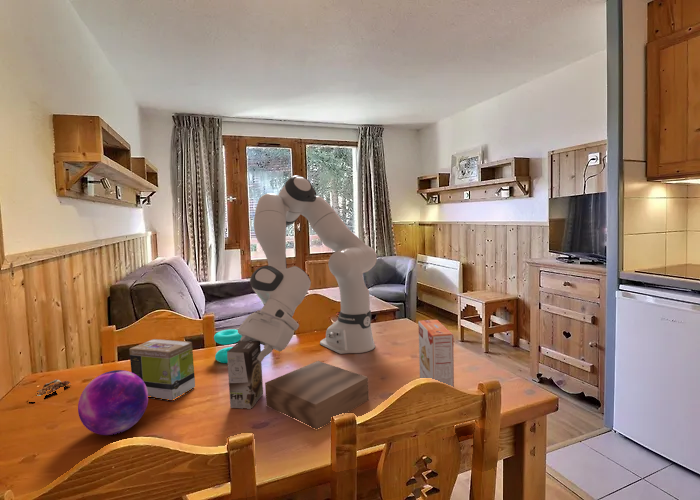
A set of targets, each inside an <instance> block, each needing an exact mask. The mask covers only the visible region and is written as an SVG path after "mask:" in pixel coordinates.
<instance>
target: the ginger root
mask: <svg viewBox="0 0 700 500" xmlns="http://www.w3.org/2000/svg"><path fill="white" fill-rule="evenodd" d="M69 383H70V384H71V382H70V381H68V380H64V381H61V380H60V379H54V380H52V381H49V382H47V383H44V385H43V386H42V387H43V388H40V389H38V390H37V391H36V392H39V394H38V393H37V394H38V395H37V396H41V395H43V394H46V391H47V390H50V389H51V390H50V391H47V394H49V393H51V392H53V391H55V390H57V389H59V388H60V387H64V386H66V385H68V384H69ZM66 387H67V386H66Z"/></svg>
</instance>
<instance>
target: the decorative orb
mask: <svg viewBox="0 0 700 500" xmlns="http://www.w3.org/2000/svg"><path fill="white" fill-rule="evenodd" d="M148 403H149V398H148V390H147V387H146V385H145V383H144V381H143V380H142V379H141V378H140V377H139V376H137V375H136V374H134V373H132V372H131V371H129V370H122V369H117V370H116V369H115V370H111V371H107V372H104V373H101V374H100V375H98V376H96V377H95V378H94V379H92V380H91V381H89V382H88V384H87V385H86V386H85V388H84V389H83V391H82V392H81V394H80V396H79V399H78V404H77V413H78V417H79V420H80V422H81V423H82V425H83V426H84V427H85V428H86V429H87V430H89V431H90V432H91V433H94V434H96V435H100V436H113V434H114V435H117V433H118V434H121V433H123V432H126V431H127V430H129V429H131V428H132V427H133V426H134V425H136V424H137V423H138V422H139V421H140V419H142V417H143V415H144V413H145V412H146V411H147V407H148ZM120 432H121V433H120Z"/></svg>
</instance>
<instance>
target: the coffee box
mask: <svg viewBox="0 0 700 500" xmlns="http://www.w3.org/2000/svg"><path fill="white" fill-rule="evenodd" d="M231 347H232V348H231V349H230V350H229V351H227V359H228V363H227V370H228V371H227V374H228V390H229V392H228V393H229V404H230V405H229V407H230V408H231V409H243V408H247V409H246V410H251V408H252V409H253V407H254V406H255V405H256V403H257V402H258V401H259V400H260V398H261V397H262V396H263V395H264V387H263V386H264V385H263V384H264V381H263V368H262V366H263V365H262V361H261V362H260V361H258V360H257V359H255V356H256V355H257V353H258V352H259V353H260V352H261V351H262V350H261V347H262V346H261V344H260V341H251V340H250V341H238V342H236V344H234V346H231Z"/></svg>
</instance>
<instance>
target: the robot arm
mask: <svg viewBox="0 0 700 500" xmlns="http://www.w3.org/2000/svg"><path fill="white" fill-rule="evenodd" d="M255 207H256V208H255V213H254V219H253V220H254V221H253V222H254V223H253V228H254V230H253V231H254V233H255V234H254V235H255V238H256V239H257V241H258V244H259V245H260V247H261V248H262V249H261V250H262V251H263V253H264V256H265V258H266V260H267V264H268V265H263V266H260V267H258V268H257V269H255V270H254V272H253V273H252V274H251V276H250V279H249V284H250V286H251V288H252V290H253V291H254V293H256V295H257V297H258V298H259V300H261V302H262V304H263V307H262V308H261V309H260V310H259V309H258V310H256V311H254V312H252V313H250V314H249V315H248V316H247V317H246V318H245V319H244V321H243V322H242V323H241V324H240V326H239V327H238V328H237V330H238V333H239V334H240V335H241V336H242V337H241V340H240V341H260V345H262V346H263V349H262V350H261V352H260V353H259V352H258V353H257V355H256V356H255V359H257V360H258V361H260V362H261V363H262V362H263V360H264V359H265V358H266V357H267V356H268V355H269V354H271V353H272V352H273V350H275V351H278V352H282V351H284V350H285V349H286V348H287V347H288V345H289V343H290V342H291V340H292V338H293V337H294V334H295V331H297V330H298V328H299V327H300V324H299V323H298V322H297V321H296V320H295V319H294V318H293V316H294V314H295V312H296V311H295V310H296V309H297V307H298V306H299V305H301V304H302V303H303V300H304V299H305V298H306V296H307V294H308V292H309V290H310V288H311V285H312V280H311V278H310V276H309V275H308V273H307V272H306V271H304V269H303V268H301V267H300V266H296V265H294V266H290V267H287V265H288V264H287V252H286V251H287V250H286V248H287V245H286V244H287V241H286V240H287V226H290V225H293V224H294V223H295V222H296V221H297V220H298V218H299V217H300V215H301V216H303V217H304V218H305V219H306V220H307V221H308V223H309V226H310V227H311V228H312V230H313V232H314V233H315V234H316V235H317V237H318V238H319V240H320V241H321V242H322V244H324V246H325V247H326V248H329V249H330V250H332V251H333V253H332V254H331V255H330V257H329V258H328V262H327V263H328V264H327V265H328V268H329V269H328V270H329V271H330V273H331V274H332V276H334V278H335V280H336V282H337V284H338V285H337V286H338V290H339V295H340V298H339V299H340V300H339V301H340V310H339V311H337V312H336V313H335V316H338V317H337V320H336V321H335V322H334V323H332V324H331V325H330V326H328V328H326V331H325V338H323V339H321V340H320V342H319V344H320V345H321V346H323V347H325V348H328V349H329V350H331V351H334V352H335V353H337V354H339V355H341V354H342V355H345V354H361V353H366V352H369V351H370V352H371V351H372V350H374V349H375V348H376V345H375V342H374V336H373V332H372V331H373V330H372V325H371V323H372V311H371V306H370V291H369V288H368V287H367V286H366V283H365V280H364V276H363V274H364V273H367V272H369V271H370V270H371V269H373V267H375V266H376V264H377V261H378V260H377V259H378V255H377V253H376V251H375V249H374V248H373V247H371V246H369V245H368V244H366V243H365V242H364V241H363V240H361V238H359V237H358V235H356V234H355V233H354V232H353V231H351V230H350V228H349V227H348V226H347V225H346V224H345V222H344V221H343V220H342V218H341V217H340V216H339V214H338V213H337V212H336V210H335V209H334V207H332V205H330V204H329V202H327V201H326V200H325V199H324V198H323V197H322V196H320V195H317V192H316V190H315V187H314V185H313V184H312V183H311V181H310V180H309V179H307V178H306V177H305V176H301V175H297V174H296V175H293V176H291V177H290V178H289V179H287V180H286V182H285V183H284V185H283V187H282V188H281V189H280V190H279V192H278V194H276V193H272V192H271V193H270V192H269V193H266V194H262V196H260V197H259V199H258V201H257V204H256V206H255ZM240 341H239V342H240Z"/></svg>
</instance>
